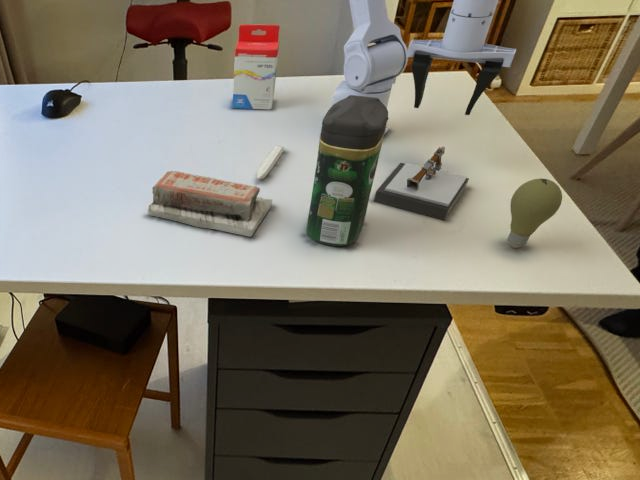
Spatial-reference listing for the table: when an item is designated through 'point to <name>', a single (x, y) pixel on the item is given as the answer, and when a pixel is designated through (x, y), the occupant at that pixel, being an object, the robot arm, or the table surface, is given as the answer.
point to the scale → (422, 191)
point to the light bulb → (532, 209)
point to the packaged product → (208, 203)
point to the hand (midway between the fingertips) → (442, 109)
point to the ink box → (255, 67)
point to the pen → (270, 161)
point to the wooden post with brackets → (427, 169)
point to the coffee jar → (346, 169)
